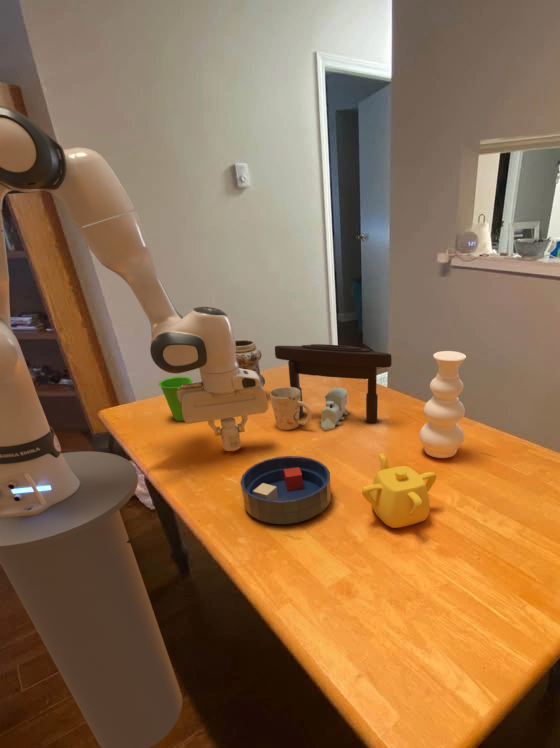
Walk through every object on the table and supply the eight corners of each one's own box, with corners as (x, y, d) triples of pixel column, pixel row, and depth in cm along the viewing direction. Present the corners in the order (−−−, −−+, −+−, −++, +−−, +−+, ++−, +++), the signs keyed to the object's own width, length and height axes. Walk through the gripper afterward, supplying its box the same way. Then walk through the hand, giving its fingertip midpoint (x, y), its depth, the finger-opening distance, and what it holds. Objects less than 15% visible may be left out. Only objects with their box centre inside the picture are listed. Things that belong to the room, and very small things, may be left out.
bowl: (252, 535, 88) (248, 510, 85) (239, 487, 103) (235, 464, 99) (342, 516, 93) (341, 491, 90) (317, 472, 108) (316, 450, 105)
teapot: (352, 521, 92) (351, 477, 86) (378, 490, 102) (379, 448, 96) (417, 540, 87) (421, 495, 81) (438, 505, 96) (443, 462, 91)
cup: (160, 419, 134) (151, 383, 129) (186, 409, 141) (179, 374, 135) (180, 426, 130) (171, 389, 124) (206, 415, 136) (199, 380, 131)
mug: (284, 417, 135) (281, 384, 130) (321, 425, 131) (319, 391, 125) (267, 428, 129) (263, 394, 124) (305, 437, 124) (303, 402, 119)
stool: (385, 359, 113) (261, 350, 120) (383, 437, 124) (270, 424, 131) (397, 343, 126) (284, 335, 133) (394, 414, 137) (290, 404, 144)
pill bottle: (244, 444, 119) (239, 416, 115) (236, 452, 115) (231, 424, 111) (228, 442, 120) (223, 415, 116) (220, 450, 116) (215, 422, 112)
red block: (287, 490, 100) (285, 477, 98) (284, 482, 103) (283, 469, 101) (303, 488, 101) (302, 474, 99) (300, 480, 104) (299, 467, 102)
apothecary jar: (268, 391, 153) (262, 337, 144) (264, 405, 143) (257, 347, 133) (232, 392, 153) (223, 337, 143) (225, 406, 142) (215, 348, 133)
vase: (430, 466, 111) (439, 363, 98) (411, 446, 119) (417, 350, 106) (470, 458, 114) (484, 358, 101) (449, 440, 122) (459, 345, 109)
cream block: (254, 505, 95) (252, 491, 93) (264, 496, 98) (262, 482, 96) (268, 509, 94) (266, 495, 92) (278, 500, 97) (276, 486, 95)
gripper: (175, 389, 103) (187, 445, 110) (266, 378, 109) (272, 431, 116) (174, 380, 108) (186, 434, 115) (261, 370, 114) (267, 422, 121)
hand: (230, 432), depth 115 cm, fingers closed on pill bottle, 4 cm apart
